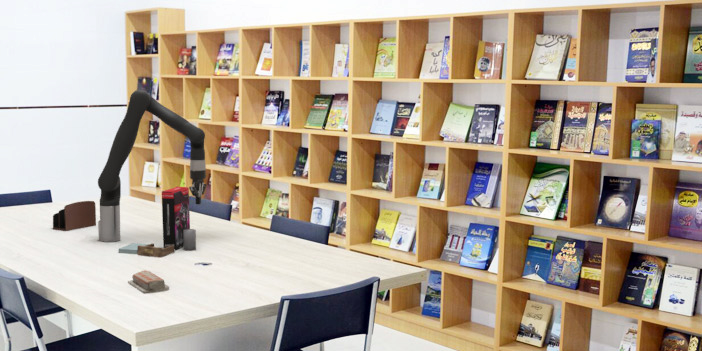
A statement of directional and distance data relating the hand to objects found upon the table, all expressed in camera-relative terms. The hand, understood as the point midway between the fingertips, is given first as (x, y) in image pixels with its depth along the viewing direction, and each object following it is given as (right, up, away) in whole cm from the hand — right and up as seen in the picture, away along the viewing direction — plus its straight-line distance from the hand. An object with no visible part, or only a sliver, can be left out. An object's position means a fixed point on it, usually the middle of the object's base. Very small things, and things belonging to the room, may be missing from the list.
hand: (198, 204), depth 374 cm
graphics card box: (-7, -19, -17) cm, 27 cm away
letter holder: (-70, -13, +25) cm, 75 cm away
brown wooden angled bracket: (-12, -21, -32) cm, 40 cm away
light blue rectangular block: (-24, -21, -27) cm, 41 cm away
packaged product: (-1, -28, -86) cm, 91 cm away
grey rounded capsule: (+1, -20, -22) cm, 30 cm away
